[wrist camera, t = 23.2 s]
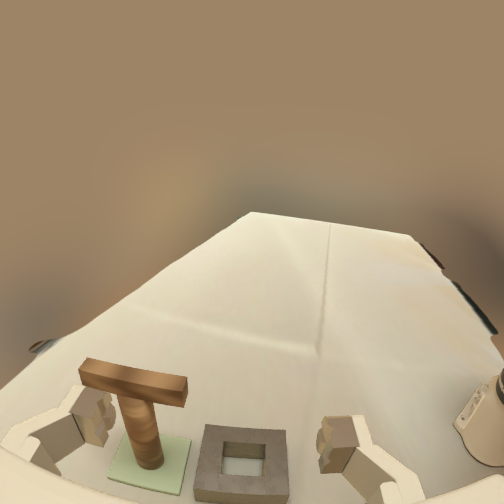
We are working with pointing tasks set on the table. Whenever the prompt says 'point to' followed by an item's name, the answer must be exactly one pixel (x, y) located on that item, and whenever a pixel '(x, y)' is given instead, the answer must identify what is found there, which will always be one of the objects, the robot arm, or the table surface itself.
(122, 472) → the key mat
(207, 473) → the block
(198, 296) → the table surface
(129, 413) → the chuck key
